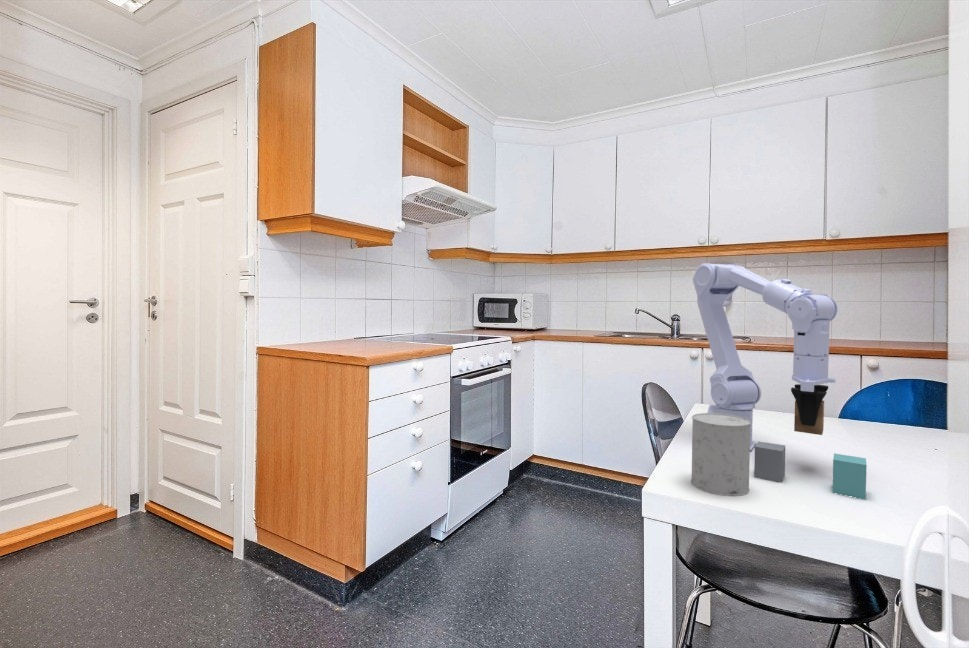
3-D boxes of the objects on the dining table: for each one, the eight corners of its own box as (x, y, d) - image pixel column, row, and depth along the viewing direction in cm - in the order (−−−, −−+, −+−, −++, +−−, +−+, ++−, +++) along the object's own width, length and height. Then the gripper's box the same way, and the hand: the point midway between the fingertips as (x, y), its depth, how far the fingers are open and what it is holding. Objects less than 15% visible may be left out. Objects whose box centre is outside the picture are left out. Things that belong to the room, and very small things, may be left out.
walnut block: (794, 431, 91) (794, 401, 91) (796, 426, 95) (797, 397, 95) (822, 435, 89) (822, 404, 88) (823, 430, 92) (824, 400, 92)
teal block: (832, 493, 81) (833, 459, 80) (833, 485, 84) (834, 453, 84) (865, 500, 78) (866, 465, 78) (865, 491, 81) (866, 458, 81)
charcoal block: (754, 477, 88) (754, 446, 88) (757, 470, 92) (758, 441, 91) (781, 483, 85) (782, 451, 85) (784, 476, 89) (785, 445, 89)
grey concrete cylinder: (748, 500, 77) (749, 428, 77) (687, 488, 82) (688, 421, 82) (750, 482, 86) (751, 417, 85) (694, 472, 91) (695, 410, 90)
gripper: (834, 359, 83) (832, 433, 84) (837, 353, 94) (835, 418, 95) (788, 356, 87) (786, 427, 88) (795, 351, 99) (794, 413, 99)
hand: (809, 422), depth 92 cm, fingers closed on walnut block, 4 cm apart
